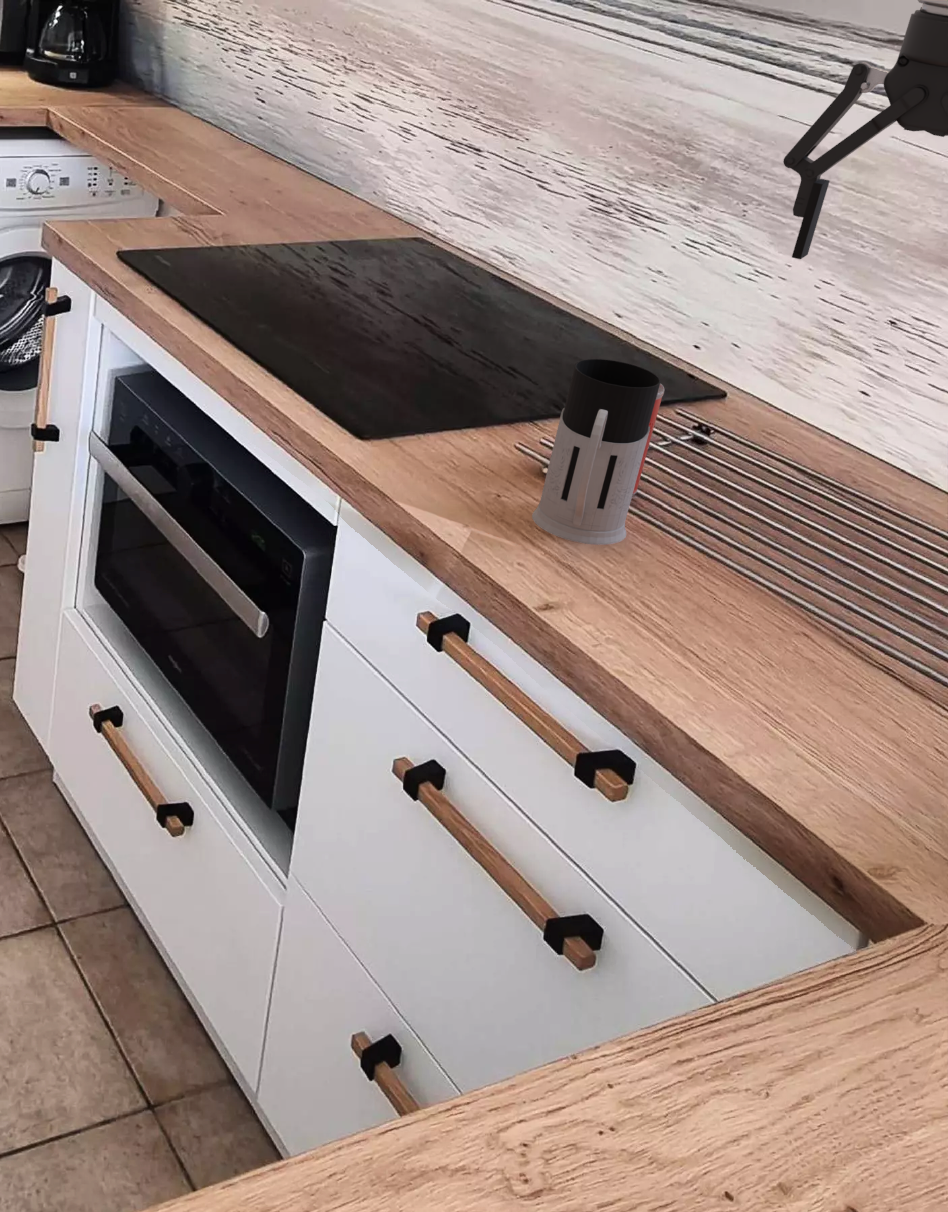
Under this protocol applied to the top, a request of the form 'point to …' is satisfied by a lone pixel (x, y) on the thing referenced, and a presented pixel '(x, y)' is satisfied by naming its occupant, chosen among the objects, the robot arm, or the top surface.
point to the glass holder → (597, 452)
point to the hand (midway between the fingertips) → (879, 274)
